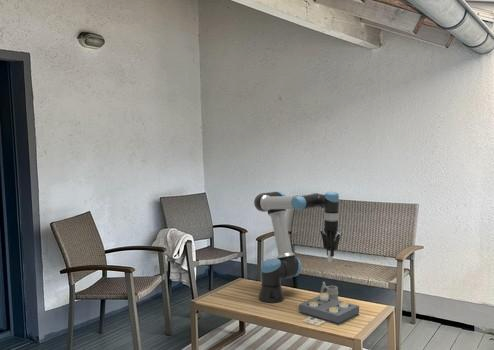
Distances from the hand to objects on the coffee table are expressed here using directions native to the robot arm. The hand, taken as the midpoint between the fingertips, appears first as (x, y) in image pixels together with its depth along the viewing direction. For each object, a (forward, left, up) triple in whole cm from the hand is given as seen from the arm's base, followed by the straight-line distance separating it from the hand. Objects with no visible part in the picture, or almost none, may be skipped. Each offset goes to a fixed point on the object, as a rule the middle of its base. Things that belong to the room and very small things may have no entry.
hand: (330, 261), depth 269 cm
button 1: (-3, -11, -27) cm, 29 cm away
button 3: (+10, -11, -27) cm, 30 cm away
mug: (-7, +9, -28) cm, 30 cm away
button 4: (+10, -1, -27) cm, 28 cm away
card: (+4, -21, -28) cm, 35 cm away
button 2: (-3, -1, -24) cm, 24 cm away
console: (+3, -6, -28) cm, 28 cm away
